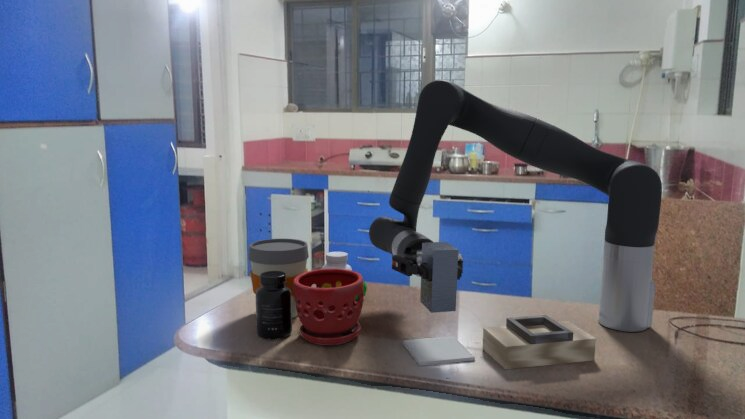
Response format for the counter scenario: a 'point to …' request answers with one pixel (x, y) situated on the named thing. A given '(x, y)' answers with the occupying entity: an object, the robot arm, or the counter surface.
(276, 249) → the reusable coffee cup
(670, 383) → the counter surface
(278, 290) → the supplement bottle
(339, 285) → the supplement bottle
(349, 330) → the plant pot
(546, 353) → the tan piece
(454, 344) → the rubber mat
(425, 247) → the brushed metal block
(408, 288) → the counter surface
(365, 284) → the polyhedron
